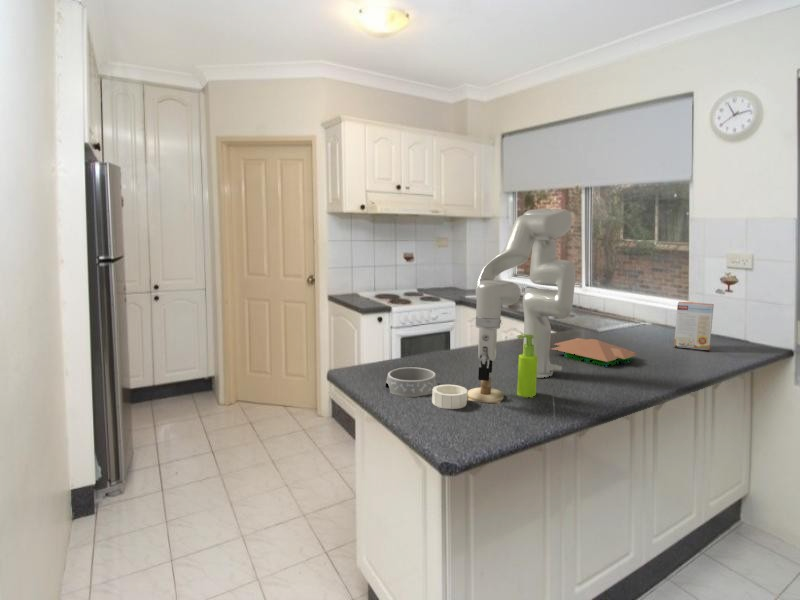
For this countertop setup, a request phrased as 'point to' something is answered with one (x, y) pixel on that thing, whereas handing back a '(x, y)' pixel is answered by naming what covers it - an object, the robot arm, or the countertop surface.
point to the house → (594, 350)
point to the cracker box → (693, 324)
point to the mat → (473, 400)
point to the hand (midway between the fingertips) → (485, 376)
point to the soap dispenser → (527, 369)
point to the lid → (485, 393)
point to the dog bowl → (411, 381)
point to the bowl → (449, 396)
